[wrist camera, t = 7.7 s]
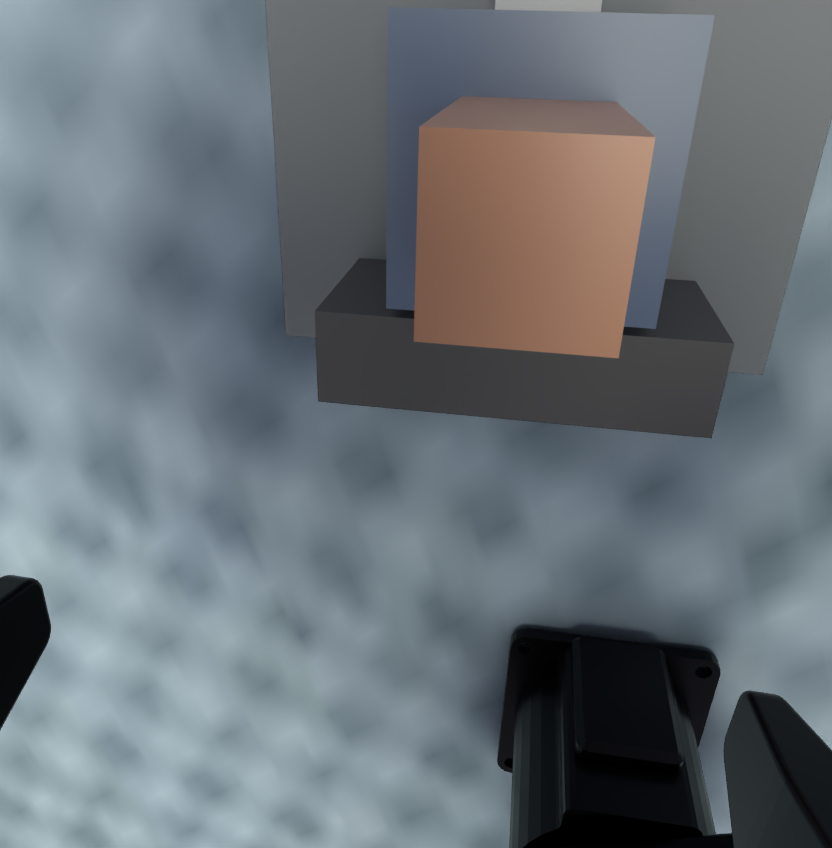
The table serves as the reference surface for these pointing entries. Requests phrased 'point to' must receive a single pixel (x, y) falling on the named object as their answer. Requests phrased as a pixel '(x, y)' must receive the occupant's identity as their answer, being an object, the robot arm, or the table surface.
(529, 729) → the robot arm
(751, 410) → the table surface
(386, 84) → the traveler track
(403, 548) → the table surface
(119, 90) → the table surface
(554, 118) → the traveler car
